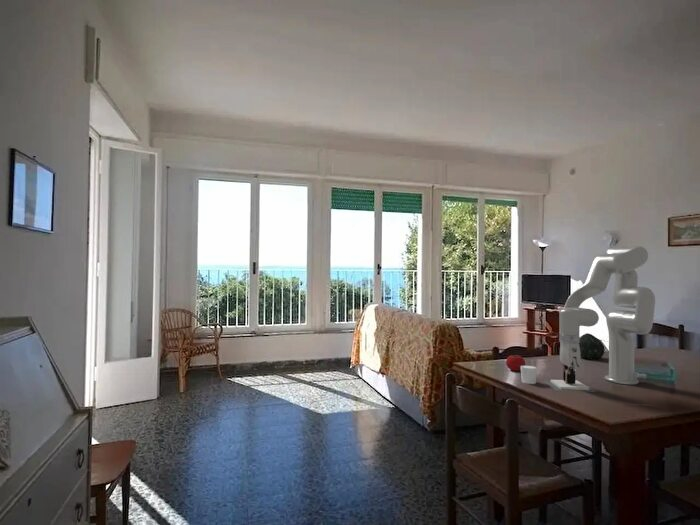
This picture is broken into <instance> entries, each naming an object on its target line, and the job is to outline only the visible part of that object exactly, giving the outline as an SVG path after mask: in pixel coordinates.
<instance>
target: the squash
mask: <svg viewBox="0 0 700 525" xmlns="http://www.w3.org/2000/svg"><path fill="white" fill-rule="evenodd" d="M579 347H580V357H581V358H583V359H584V358H586V359H587V360H591V359H592V360H598V359H601V358H602V357H603V356H604V354H605V349H606V348H605V345H604V344H603V342H602V341H601V340H600V339H599V338H598V337H596V336H595V335H593V334H592V333H588V332H585V333H583V335H581V336H579Z"/></svg>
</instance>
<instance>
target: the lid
mask: <svg viewBox="0 0 700 525" xmlns="http://www.w3.org/2000/svg"><path fill="white" fill-rule="evenodd" d="M567 374H568V370H566V379H565V381H564V380H563V379H550V381H551V383H553V384H554V385H556V386H557V387H558V388H560V389H570V390H589V387H590V386H588V385H586V384H585V383H583V382H581V383H580V381H579V380H577V379H575V384H568V383H567ZM582 383H583V384H582ZM584 384H585V385H586V386H585V385H584ZM587 386H588V387H587Z"/></svg>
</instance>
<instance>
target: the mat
mask: <svg viewBox="0 0 700 525" xmlns="http://www.w3.org/2000/svg"><path fill="white" fill-rule="evenodd" d="M579 382H580V381H579ZM543 383H545V384H547V385H548V386H549V387H550V388H551V389H553V390H554V391H562V392H569V391H570V392H584V393H585V392H591V393H597V392H598V391H596V390H595V389H593V388H592V387H590V386H588V385H586V384H585V383H584V382H580V383H582V384H584V385H585V386H587V387H589V390H570V389H560V388H558V387H557V386H556V385H554V384H553V383H551V380H550V381H549V380H543Z"/></svg>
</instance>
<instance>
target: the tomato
mask: <svg viewBox="0 0 700 525" xmlns="http://www.w3.org/2000/svg"><path fill="white" fill-rule="evenodd" d="M505 364H506V367H507V368H508V369H509V370H511V371H513V372H521V368H520V366H523V365H526V361H525V359H524V358H523V357H522V355H518V354H516V353H515V354H512V355H511V354H510V355H509V356H507V358H506V361H505Z"/></svg>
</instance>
